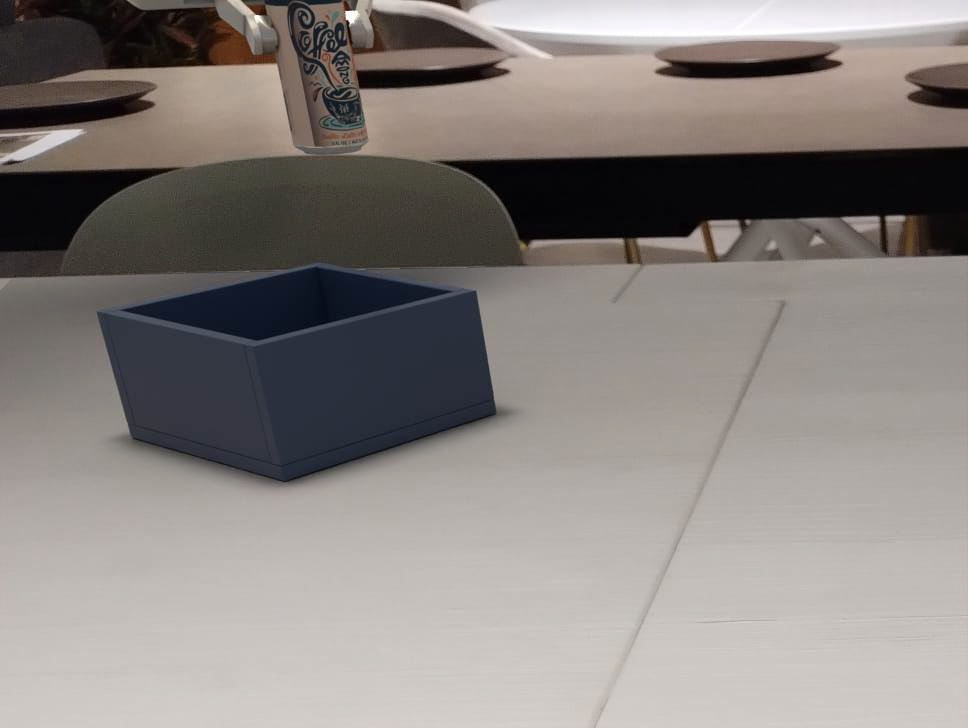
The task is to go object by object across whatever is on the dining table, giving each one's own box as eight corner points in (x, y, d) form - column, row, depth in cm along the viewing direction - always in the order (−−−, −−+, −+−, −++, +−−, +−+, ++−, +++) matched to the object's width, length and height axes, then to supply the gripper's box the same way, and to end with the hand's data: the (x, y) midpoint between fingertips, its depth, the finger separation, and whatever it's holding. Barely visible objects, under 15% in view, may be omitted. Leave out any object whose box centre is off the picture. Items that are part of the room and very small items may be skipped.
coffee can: (333, 158, 110) (294, -45, 104) (278, 153, 111) (237, -47, 106) (385, 147, 114) (351, -49, 108) (332, 143, 115) (295, -51, 110)
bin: (130, 437, 91) (95, 311, 87) (344, 377, 100) (319, 262, 97) (284, 481, 84) (253, 346, 81) (497, 412, 94) (476, 290, 90)
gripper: (70, -166, 103) (139, 18, 101) (403, -165, 114) (474, 2, 111) (79, -87, 109) (145, 90, 106) (396, -93, 119) (463, 68, 117)
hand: (315, 45), depth 109 cm, fingers closed on coffee can, 5 cm apart
